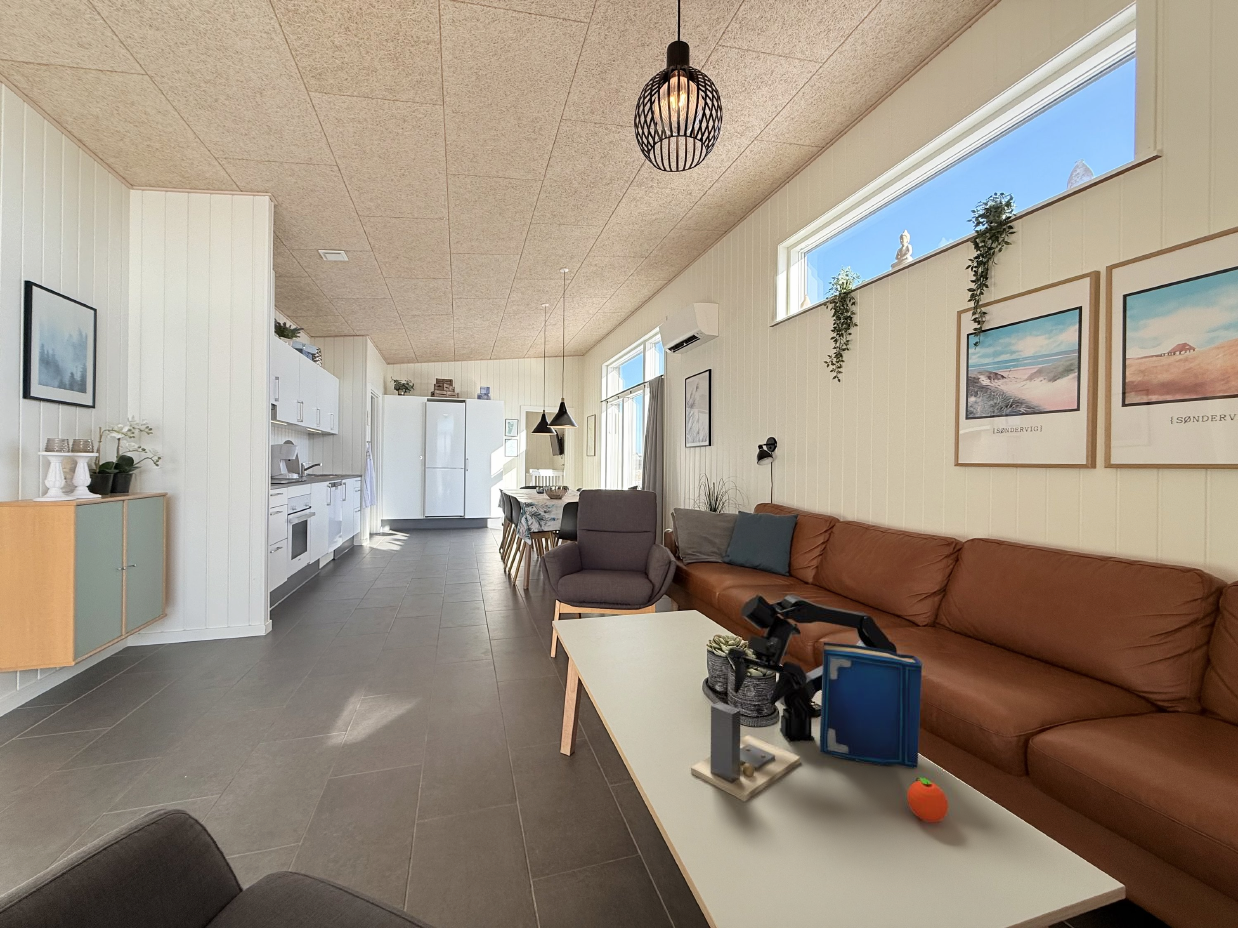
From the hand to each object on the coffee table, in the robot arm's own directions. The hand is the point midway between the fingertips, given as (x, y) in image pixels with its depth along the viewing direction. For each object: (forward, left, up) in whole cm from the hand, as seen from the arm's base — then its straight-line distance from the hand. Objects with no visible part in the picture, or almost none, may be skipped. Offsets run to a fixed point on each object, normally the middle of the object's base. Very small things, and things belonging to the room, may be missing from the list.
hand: (752, 698), depth 130 cm
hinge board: (+3, +4, -13) cm, 14 cm away
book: (-27, +4, -14) cm, 30 cm away
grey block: (+8, +8, -12) cm, 17 cm away
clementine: (-25, +26, -14) cm, 38 cm away
